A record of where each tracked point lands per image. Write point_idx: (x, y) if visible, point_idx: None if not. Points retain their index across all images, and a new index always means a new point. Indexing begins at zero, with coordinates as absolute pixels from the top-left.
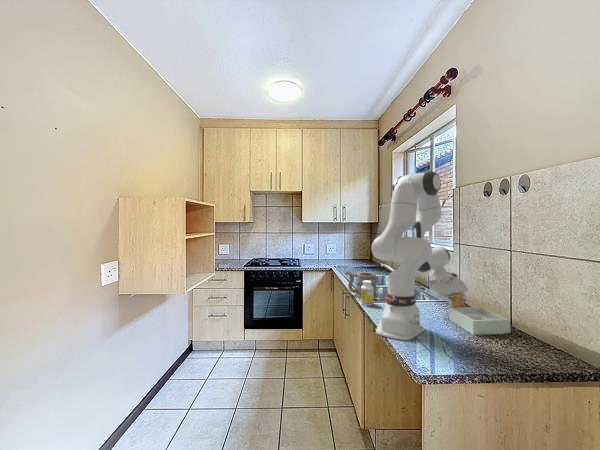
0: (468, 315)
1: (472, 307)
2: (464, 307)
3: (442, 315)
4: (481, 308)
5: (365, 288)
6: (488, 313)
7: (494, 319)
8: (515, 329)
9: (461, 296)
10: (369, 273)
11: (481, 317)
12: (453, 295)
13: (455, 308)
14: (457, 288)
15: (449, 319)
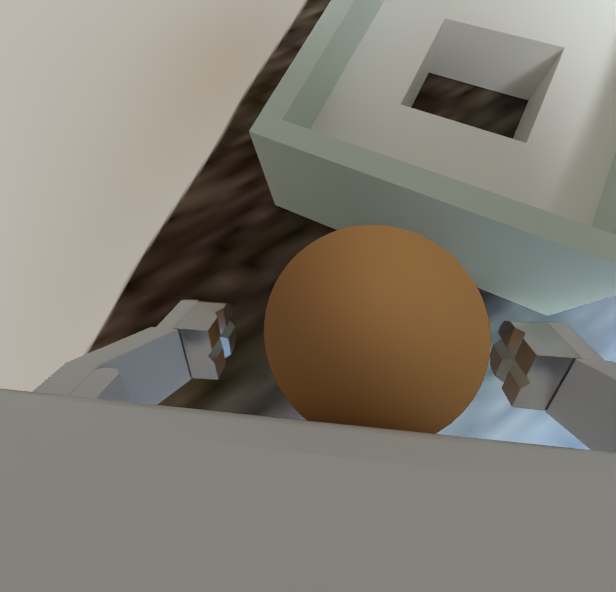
0: (463, 165)
1: (355, 157)
2: (445, 195)
3: (505, 439)
4: (288, 113)
5: None
6: (338, 49)
7: (369, 24)
8: (300, 17)
9: (380, 236)
10: None
11: (407, 90)
12: (463, 392)
13: (585, 228)
14: (76, 533)
15: (550, 312)
